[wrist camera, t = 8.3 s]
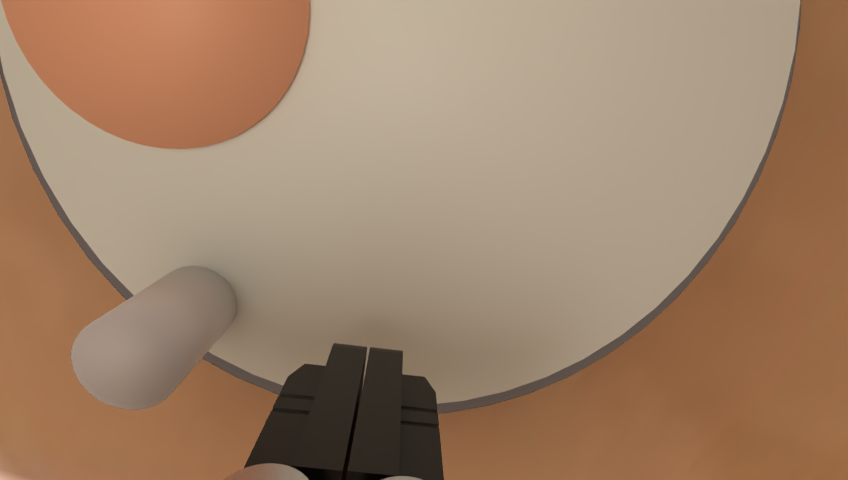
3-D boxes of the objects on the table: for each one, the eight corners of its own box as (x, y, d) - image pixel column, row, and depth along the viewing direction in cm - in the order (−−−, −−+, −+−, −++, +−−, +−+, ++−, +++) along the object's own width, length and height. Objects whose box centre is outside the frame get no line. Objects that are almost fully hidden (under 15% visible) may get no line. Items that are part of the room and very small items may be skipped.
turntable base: (682, -604, 10) (944, -1296, 5) (822, 267, 15) (1011, 333, 11) (-160, -189, 11) (-589, -424, 6) (246, 477, 17) (180, 621, 12)
